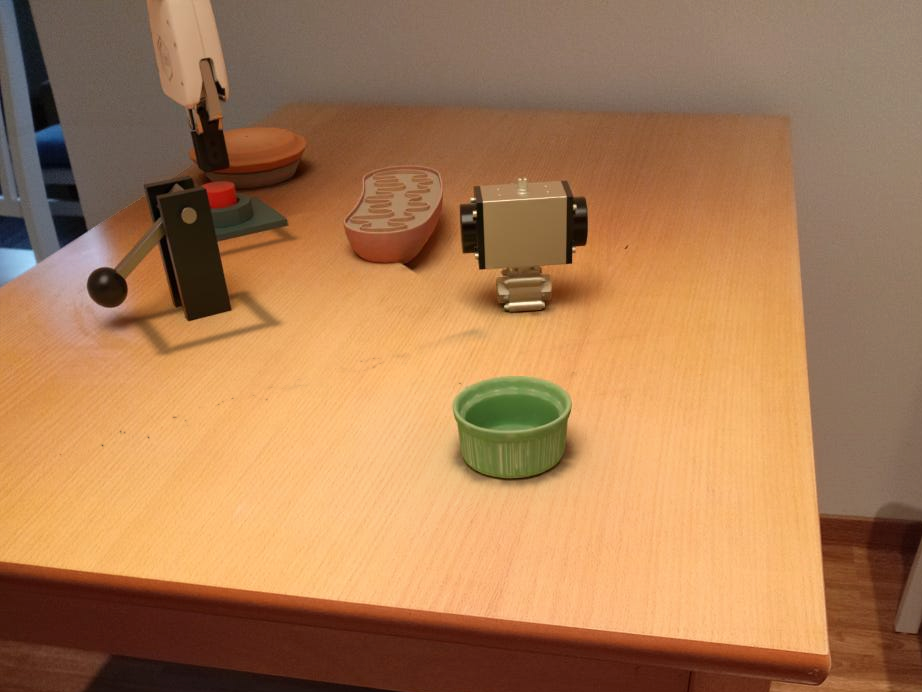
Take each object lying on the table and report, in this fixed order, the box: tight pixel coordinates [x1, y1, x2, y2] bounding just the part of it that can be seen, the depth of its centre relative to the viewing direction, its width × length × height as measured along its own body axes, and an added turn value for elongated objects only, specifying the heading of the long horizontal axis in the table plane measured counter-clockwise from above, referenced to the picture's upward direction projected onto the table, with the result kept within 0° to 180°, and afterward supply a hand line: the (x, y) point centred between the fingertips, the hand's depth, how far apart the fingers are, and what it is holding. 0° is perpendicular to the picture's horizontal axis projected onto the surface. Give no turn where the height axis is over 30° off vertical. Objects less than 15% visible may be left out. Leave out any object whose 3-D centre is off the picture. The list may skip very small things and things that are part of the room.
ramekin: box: [452, 375, 573, 479], centre depth 78 cm, size 9×9×4 cm
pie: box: [188, 126, 308, 190], centre depth 135 cm, size 15×16×5 cm
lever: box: [86, 184, 184, 309], centre depth 94 cm, size 13×4×4 cm
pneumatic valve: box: [459, 176, 589, 313], centre depth 97 cm, size 6×12×12 cm, turn 93°
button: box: [200, 181, 238, 209], centre depth 116 cm, size 4×4×2 cm
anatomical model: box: [342, 164, 444, 265], centre depth 114 cm, size 23×10×5 cm, turn 177°
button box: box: [211, 191, 289, 242], centre depth 118 cm, size 12×10×4 cm
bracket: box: [143, 175, 233, 322], centre depth 97 cm, size 11×9×13 cm
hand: (214, 168), depth 114 cm, fingers closed
